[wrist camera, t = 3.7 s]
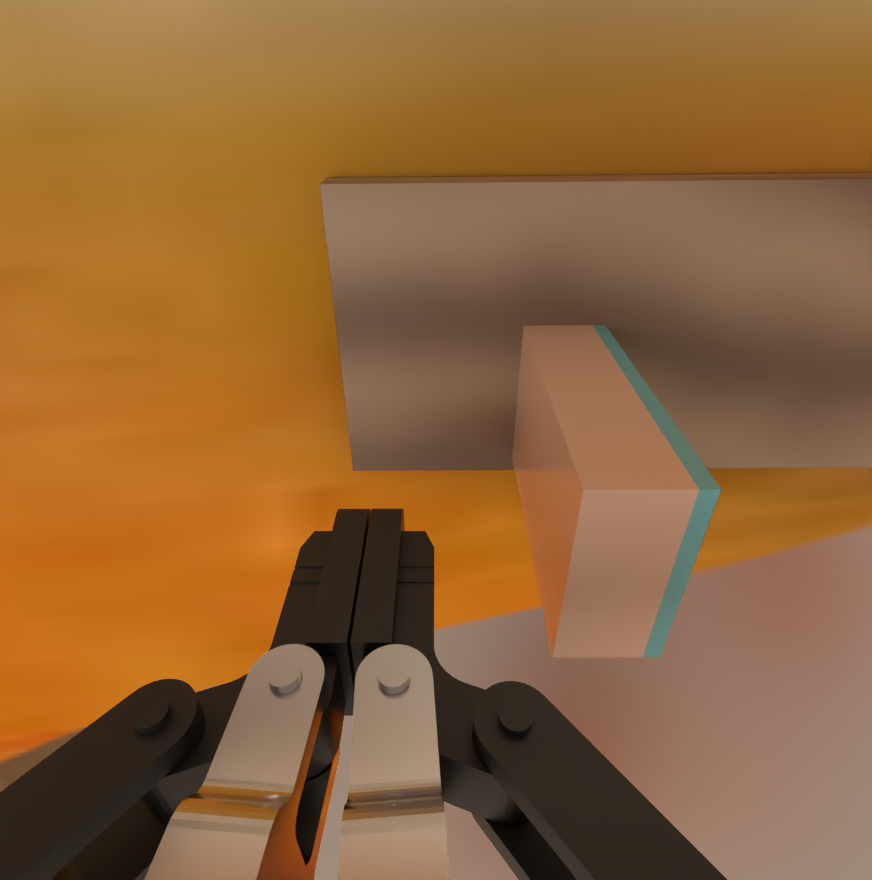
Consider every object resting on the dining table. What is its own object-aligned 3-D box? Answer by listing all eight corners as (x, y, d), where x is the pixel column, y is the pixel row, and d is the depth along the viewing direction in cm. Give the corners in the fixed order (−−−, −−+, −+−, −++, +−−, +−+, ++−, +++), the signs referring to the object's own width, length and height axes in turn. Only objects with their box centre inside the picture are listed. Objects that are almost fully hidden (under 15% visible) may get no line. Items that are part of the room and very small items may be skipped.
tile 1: (523, 325, 16) (582, 490, 10) (605, 325, 16) (721, 489, 10) (512, 458, 19) (552, 657, 12) (581, 458, 19) (659, 656, 12)
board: (327, 177, 15) (319, 184, 14) (1319, 168, 15) (1382, 174, 14) (357, 451, 20) (353, 470, 19) (1093, 447, 20) (1127, 466, 19)
